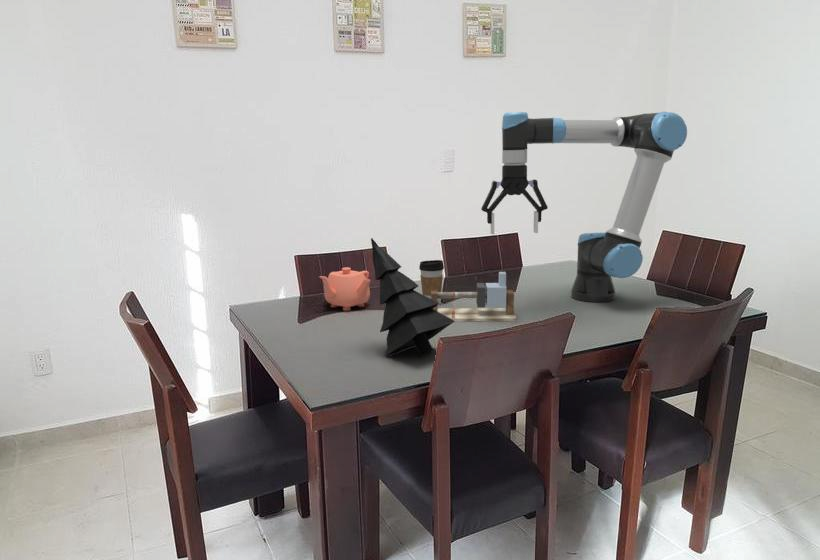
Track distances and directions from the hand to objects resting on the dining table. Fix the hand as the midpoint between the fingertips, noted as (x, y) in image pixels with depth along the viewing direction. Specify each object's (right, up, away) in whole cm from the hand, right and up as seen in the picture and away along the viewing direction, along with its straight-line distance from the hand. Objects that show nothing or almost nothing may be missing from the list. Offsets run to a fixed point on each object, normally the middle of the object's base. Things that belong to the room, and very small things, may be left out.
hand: (514, 233), depth 195 cm
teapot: (-54, -24, +18) cm, 62 cm away
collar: (-10, -22, +4) cm, 25 cm away
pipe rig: (-13, -26, +5) cm, 29 cm away
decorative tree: (-34, -34, -26) cm, 55 cm away
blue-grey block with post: (-5, -22, +4) cm, 23 cm away
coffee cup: (-25, -23, +21) cm, 40 cm away
